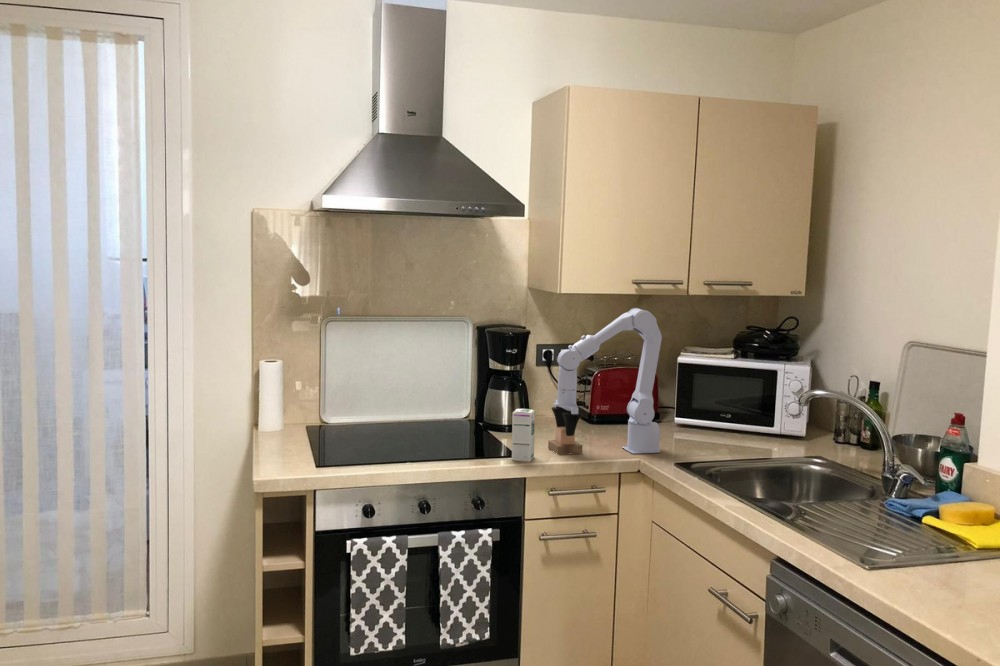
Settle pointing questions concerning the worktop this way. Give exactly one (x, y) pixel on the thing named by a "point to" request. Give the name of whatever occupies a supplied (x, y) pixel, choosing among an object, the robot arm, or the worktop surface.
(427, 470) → the worktop surface
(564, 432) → the cube
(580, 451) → the walnut block
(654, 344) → the robot arm
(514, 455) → the syrup box
